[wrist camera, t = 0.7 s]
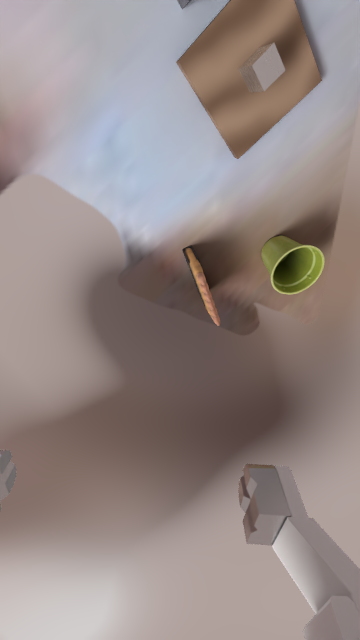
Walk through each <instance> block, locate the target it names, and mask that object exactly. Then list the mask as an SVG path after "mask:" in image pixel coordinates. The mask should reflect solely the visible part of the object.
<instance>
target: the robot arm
mask: <svg viewBox="0 0 360 640" xmlns="http://www.w3.org/2000/svg"><path fill="white" fill-rule="evenodd" d="M11 458H12V455H11V452H10V451H9V450H0V501H1V500H2V499H4V498H5V497H6V496H7V495H8V494H9V493H10V491H11V489H12V487H13V485H14V481H15V478H16V467H15V464H13V463H12V462H11V461H10V460H11ZM243 473H244V475H243V476H242V477H241V478H240V481H239V488H238V493H239V502H240V507H241V508H242V509H243V511H244V512H245V516H244V519H243V525H244V530H245V536H246V542H247V544H261V545H273V546H272V548H273V550H274V551H275V553H276V554H277V556H278V557H279V559H280V560H281V561H282V563H283V565H284V566H285V568H286V569H287V571H288V572H289V574H290V575H291V577H292V579H293V580H294V582H295V583H296V585H297V586H298V588H299V589H300V591H301V592H302V594H303V595H304V597H305V598H306V600H307V601H308V603H309V605H310V606H311V607H312V609H313V610H314V612H315V614H316V615H315V616H314V617H313V618H312V619H311V620H310V621H309V623H308V624H307V625H306V626H305V628H304V630H303V633H304V638H305V640H360V569H359V568H358V567H357V566H356V565H355V564H354V563H353V561H351V559H350V558H349V557H348V556H347V555H346V554H345V553H344V552H343V550H342V549H341V548H340V547H339V546H338V545H337V544H336V543H335V542H334V541H333V540H332V539H331V538H330V537H329V535H328V534H327V533H326V532H325V531H324V530H323V529H322V528H321V527H320V525H319V524H318V523H317V522H316V521H315V520H314V519H313V518H308V515H307V512H306V510H305V507H304V504H303V502H302V499H301V496H300V493H299V491H298V488H297V485H296V482H295V480H294V477H293V474H292V472H291V470H290V468H289V467H287V466H273V465H257V464H246V465H245V466H244V468H243ZM0 510H1V503H0Z"/></svg>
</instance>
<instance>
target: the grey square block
mask: <svg viewBox="0 0 360 640" xmlns="http://www.w3.org/2000/svg"><path fill="white" fill-rule="evenodd" d="M177 1H178V2H179V4H180V6H181V8H182V9H183V8H184V6H185V5H186V4H187V3H188V2H189V0H177Z"/></svg>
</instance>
